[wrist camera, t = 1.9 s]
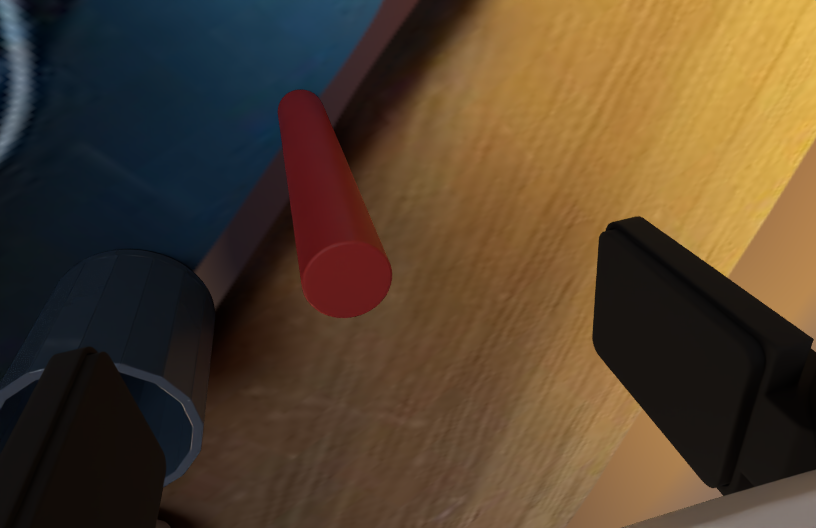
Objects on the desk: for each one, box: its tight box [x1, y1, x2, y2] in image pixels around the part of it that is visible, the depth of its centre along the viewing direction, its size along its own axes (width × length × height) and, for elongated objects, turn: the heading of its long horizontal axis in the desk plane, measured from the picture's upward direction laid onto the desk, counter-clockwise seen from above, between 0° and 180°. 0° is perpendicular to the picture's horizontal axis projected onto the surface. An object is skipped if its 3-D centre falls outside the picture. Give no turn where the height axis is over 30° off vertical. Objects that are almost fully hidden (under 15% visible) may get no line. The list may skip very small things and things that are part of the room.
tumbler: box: [0, 249, 215, 487], centre depth 23 cm, size 7×7×8 cm
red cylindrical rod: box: [278, 90, 392, 318], centre depth 18 cm, size 2×2×14 cm
